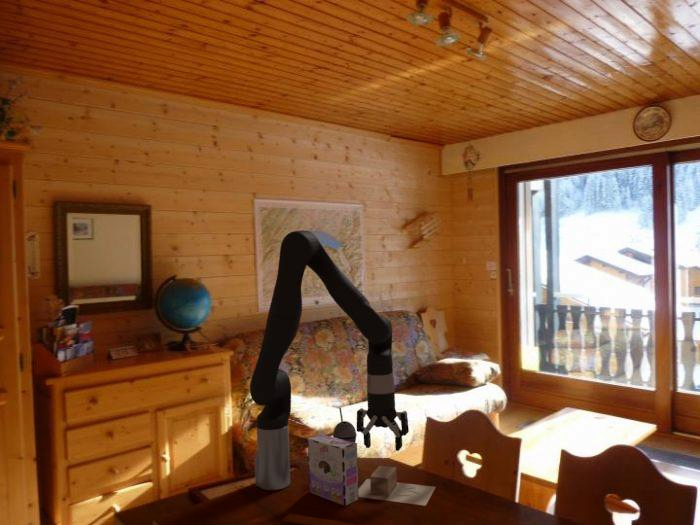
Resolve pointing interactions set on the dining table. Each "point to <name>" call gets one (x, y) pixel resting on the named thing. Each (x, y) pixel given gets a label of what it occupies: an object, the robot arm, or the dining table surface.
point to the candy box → (333, 469)
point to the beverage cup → (345, 430)
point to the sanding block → (383, 481)
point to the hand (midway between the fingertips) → (383, 448)
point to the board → (401, 493)
